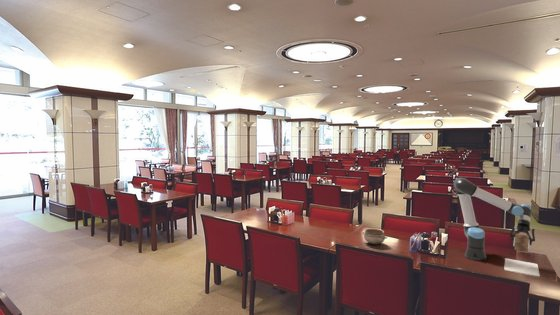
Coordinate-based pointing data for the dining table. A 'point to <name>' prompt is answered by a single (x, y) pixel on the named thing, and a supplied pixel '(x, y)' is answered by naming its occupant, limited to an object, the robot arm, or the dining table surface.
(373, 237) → the cooking pot
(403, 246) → the dining table surface
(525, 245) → the walnut plaque
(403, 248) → the dining table surface
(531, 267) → the cream white flat board
